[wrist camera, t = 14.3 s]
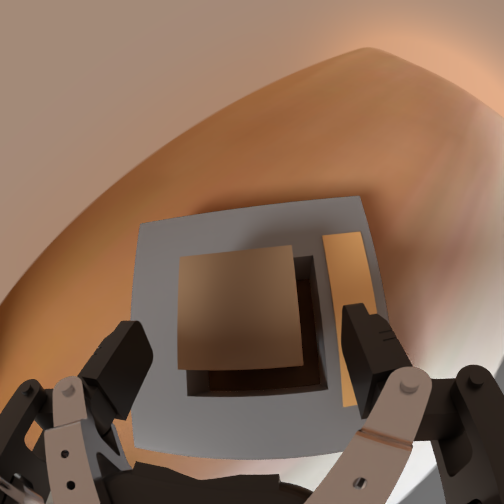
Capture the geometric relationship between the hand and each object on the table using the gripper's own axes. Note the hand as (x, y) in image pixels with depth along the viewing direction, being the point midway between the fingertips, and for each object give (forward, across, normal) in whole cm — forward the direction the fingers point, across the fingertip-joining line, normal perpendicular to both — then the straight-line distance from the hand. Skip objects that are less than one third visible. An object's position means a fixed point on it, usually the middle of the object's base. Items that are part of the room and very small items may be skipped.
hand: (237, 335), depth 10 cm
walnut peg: (+6, 0, +4) cm, 7 cm away
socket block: (+6, 0, +5) cm, 7 cm away
